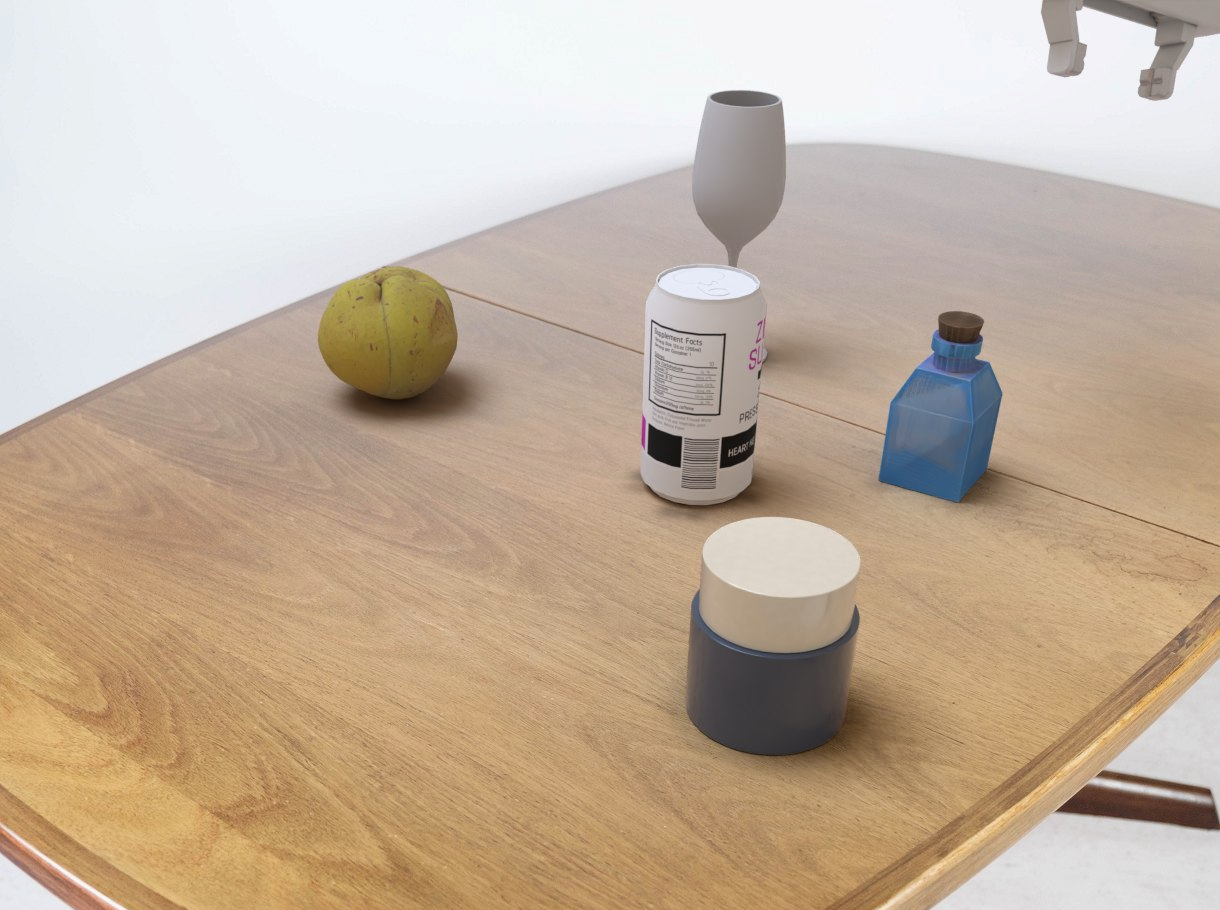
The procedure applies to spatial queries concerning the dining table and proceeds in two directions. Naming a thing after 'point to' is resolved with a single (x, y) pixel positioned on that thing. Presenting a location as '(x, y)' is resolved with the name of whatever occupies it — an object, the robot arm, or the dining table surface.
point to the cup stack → (773, 635)
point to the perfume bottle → (944, 415)
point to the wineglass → (740, 167)
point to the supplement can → (701, 382)
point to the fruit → (389, 332)
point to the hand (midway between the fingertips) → (1110, 87)
